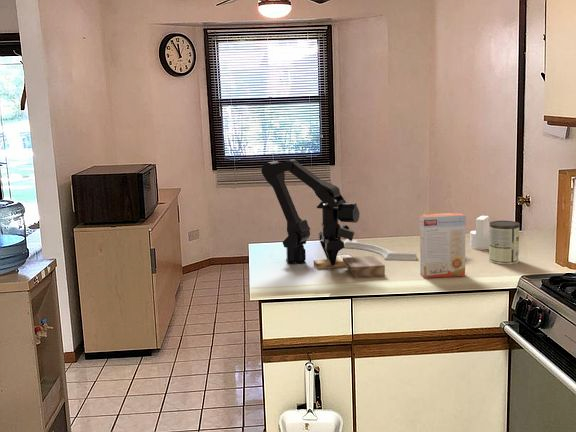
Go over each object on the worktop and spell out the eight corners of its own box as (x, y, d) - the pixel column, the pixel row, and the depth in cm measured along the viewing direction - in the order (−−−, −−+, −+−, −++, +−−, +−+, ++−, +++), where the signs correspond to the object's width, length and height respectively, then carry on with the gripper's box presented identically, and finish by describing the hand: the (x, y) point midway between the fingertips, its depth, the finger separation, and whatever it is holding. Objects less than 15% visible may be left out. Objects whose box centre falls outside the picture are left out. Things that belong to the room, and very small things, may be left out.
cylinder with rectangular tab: (490, 250, 239) (491, 220, 237) (467, 248, 244) (467, 218, 242) (495, 245, 247) (496, 216, 245) (473, 243, 251) (474, 215, 249)
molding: (423, 260, 230) (423, 253, 229) (399, 265, 223) (400, 257, 223) (351, 242, 265) (351, 235, 264) (329, 245, 258) (329, 239, 258)
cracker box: (459, 272, 210) (461, 211, 206) (465, 276, 204) (466, 214, 200) (419, 273, 210) (419, 213, 206) (423, 278, 204) (424, 216, 200)
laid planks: (351, 278, 206) (351, 267, 206) (342, 267, 220) (342, 257, 219) (384, 276, 208) (384, 265, 207) (374, 266, 221) (374, 255, 221)
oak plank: (317, 270, 220) (317, 263, 220) (313, 266, 225) (313, 260, 224) (349, 267, 222) (349, 260, 222) (344, 263, 227) (344, 257, 227)
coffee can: (488, 257, 229) (488, 220, 226) (517, 258, 226) (518, 220, 224) (489, 264, 219) (490, 225, 217) (519, 265, 216) (521, 226, 214)
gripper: (358, 224, 212) (358, 268, 215) (346, 215, 231) (347, 255, 233) (326, 226, 211) (327, 270, 214) (317, 216, 230) (318, 257, 232)
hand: (331, 262), depth 223 cm, fingers open, 7 cm apart
